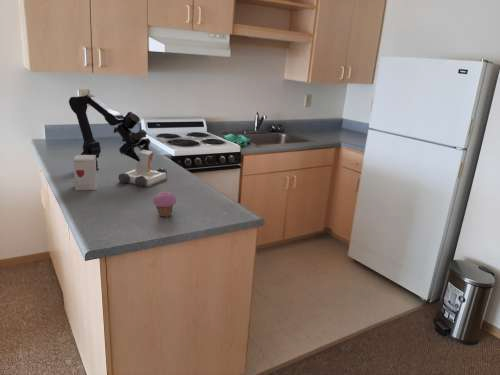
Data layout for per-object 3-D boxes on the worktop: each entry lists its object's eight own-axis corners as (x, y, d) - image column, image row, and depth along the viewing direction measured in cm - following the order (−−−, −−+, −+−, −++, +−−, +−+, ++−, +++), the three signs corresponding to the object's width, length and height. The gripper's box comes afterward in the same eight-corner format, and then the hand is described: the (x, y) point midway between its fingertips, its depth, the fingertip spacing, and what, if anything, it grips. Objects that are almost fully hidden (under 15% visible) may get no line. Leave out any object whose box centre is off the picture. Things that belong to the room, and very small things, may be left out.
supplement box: (75, 190, 185) (72, 159, 181) (77, 184, 193) (75, 154, 189) (96, 190, 188) (94, 159, 183) (97, 184, 196) (95, 154, 191)
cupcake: (177, 212, 167) (177, 189, 164) (174, 220, 159) (174, 196, 156) (155, 211, 167) (155, 188, 164) (151, 219, 159) (151, 195, 156)
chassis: (145, 188, 195) (145, 178, 193) (117, 182, 201) (116, 172, 199) (168, 178, 212) (168, 169, 211) (142, 173, 218) (142, 164, 217)
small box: (146, 174, 201) (149, 154, 198) (135, 172, 201) (138, 152, 198) (150, 170, 209) (153, 151, 206) (139, 168, 209) (143, 148, 205)
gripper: (123, 127, 191) (142, 153, 191) (147, 122, 208) (165, 146, 207) (110, 141, 196) (129, 166, 196) (135, 135, 213) (152, 159, 212)
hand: (145, 159), depth 203 cm, fingers closed on small box, 9 cm apart
